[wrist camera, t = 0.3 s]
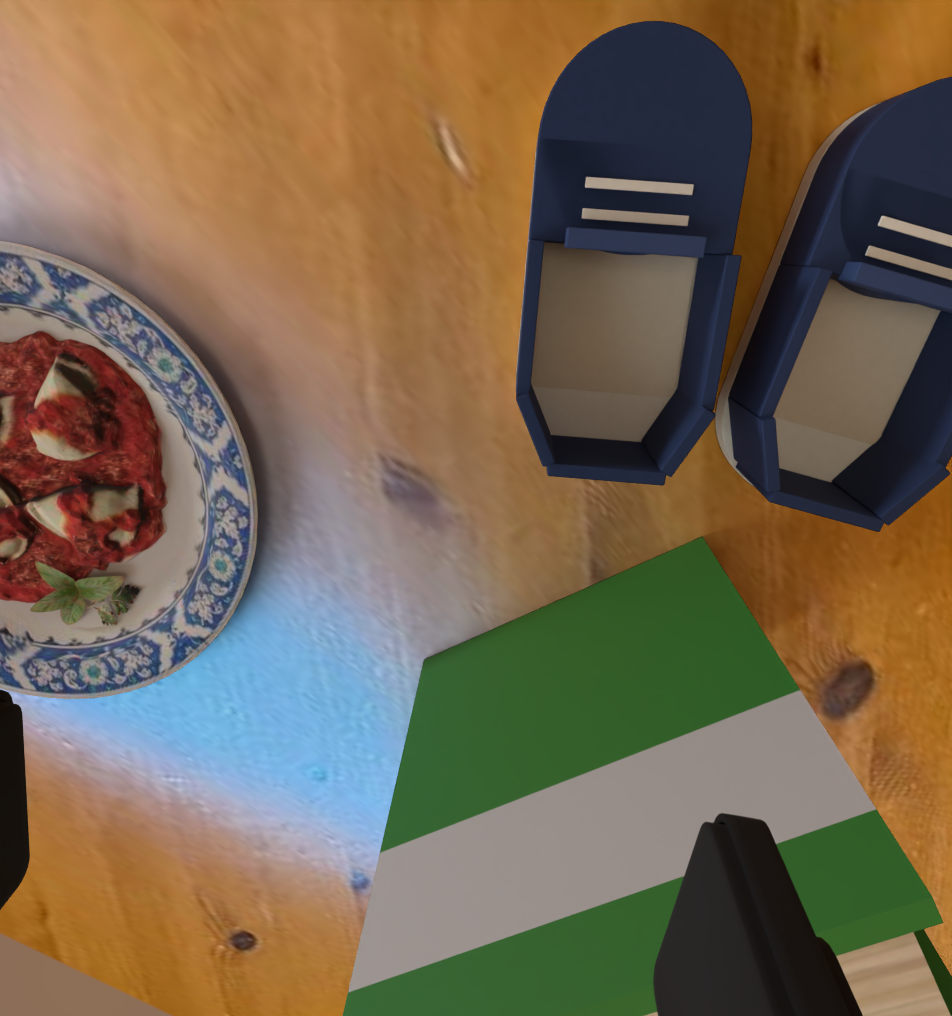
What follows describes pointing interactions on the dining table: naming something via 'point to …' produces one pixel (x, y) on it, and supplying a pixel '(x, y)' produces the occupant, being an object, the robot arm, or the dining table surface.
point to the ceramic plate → (110, 487)
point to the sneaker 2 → (854, 325)
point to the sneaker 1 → (632, 253)
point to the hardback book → (619, 810)
